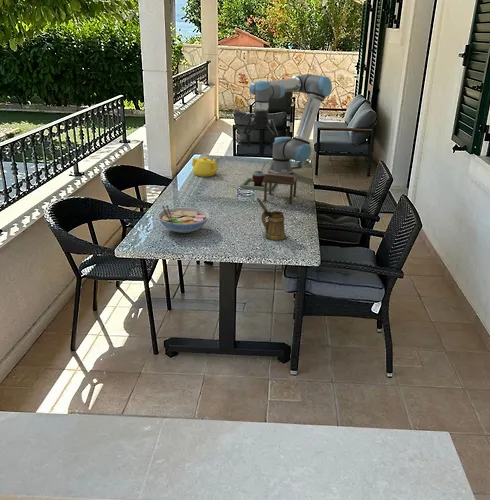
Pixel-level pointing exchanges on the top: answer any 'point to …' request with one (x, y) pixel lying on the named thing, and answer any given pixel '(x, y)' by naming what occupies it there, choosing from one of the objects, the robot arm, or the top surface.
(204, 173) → the teapot
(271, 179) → the stand
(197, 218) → the ramen bowl
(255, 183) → the mate gourd
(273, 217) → the wooden mug
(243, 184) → the bottom bay
